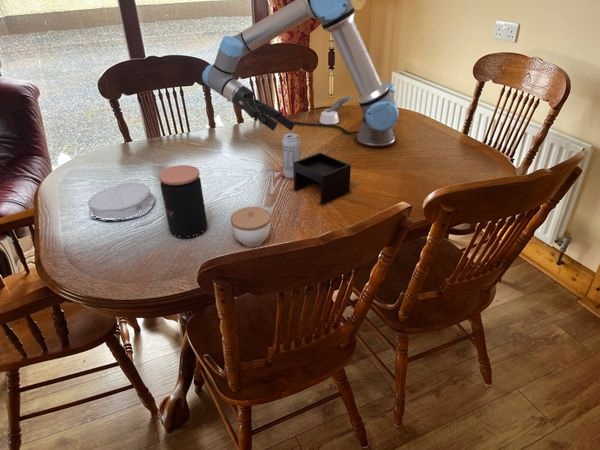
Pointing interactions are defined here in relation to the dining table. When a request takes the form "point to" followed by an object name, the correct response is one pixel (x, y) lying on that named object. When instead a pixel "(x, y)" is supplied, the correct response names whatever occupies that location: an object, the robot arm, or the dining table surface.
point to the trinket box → (251, 225)
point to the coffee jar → (183, 201)
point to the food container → (121, 201)
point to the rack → (323, 176)
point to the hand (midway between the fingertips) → (284, 127)
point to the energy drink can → (290, 153)
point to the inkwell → (333, 112)
